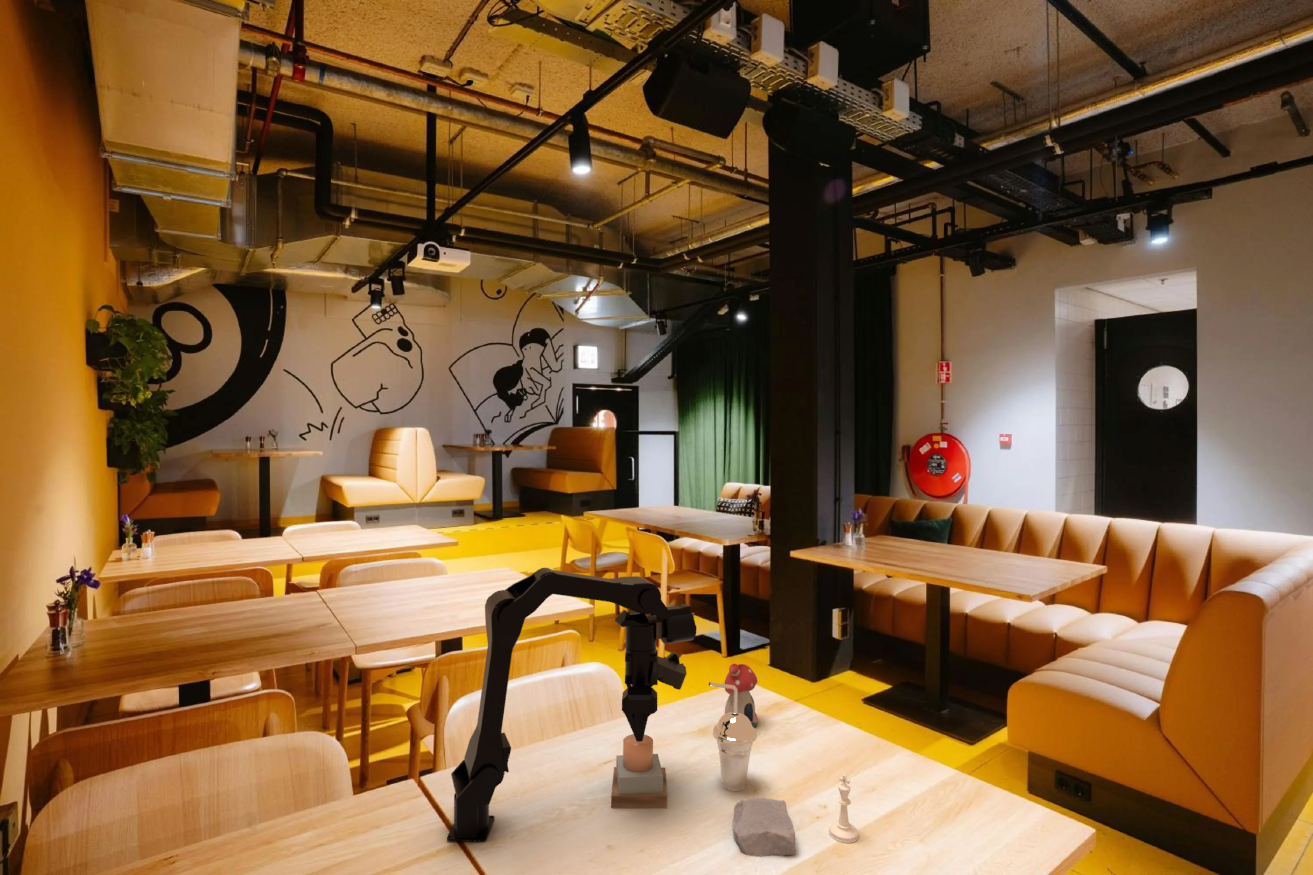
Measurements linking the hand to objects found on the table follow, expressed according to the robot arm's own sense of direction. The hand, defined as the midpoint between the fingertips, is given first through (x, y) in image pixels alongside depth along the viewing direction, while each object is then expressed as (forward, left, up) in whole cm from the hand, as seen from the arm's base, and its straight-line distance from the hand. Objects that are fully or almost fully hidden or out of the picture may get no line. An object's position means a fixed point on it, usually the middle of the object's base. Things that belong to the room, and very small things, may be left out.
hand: (640, 729), depth 123 cm
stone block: (-12, -21, -12) cm, 27 cm away
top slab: (0, 0, -10) cm, 10 cm away
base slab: (0, 0, -13) cm, 13 cm away
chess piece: (-12, -35, -12) cm, 39 cm away
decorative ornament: (+28, -23, -12) cm, 38 cm away
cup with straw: (+3, -18, -12) cm, 22 cm away
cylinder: (0, 0, -7) cm, 7 cm away
